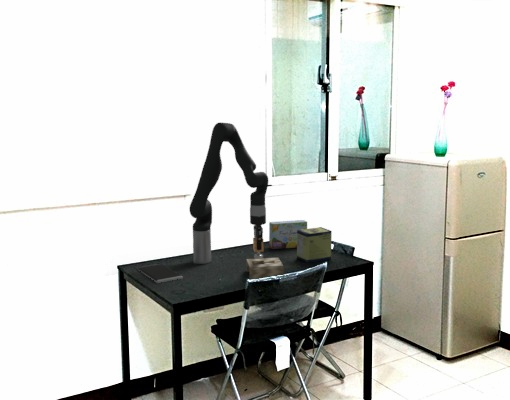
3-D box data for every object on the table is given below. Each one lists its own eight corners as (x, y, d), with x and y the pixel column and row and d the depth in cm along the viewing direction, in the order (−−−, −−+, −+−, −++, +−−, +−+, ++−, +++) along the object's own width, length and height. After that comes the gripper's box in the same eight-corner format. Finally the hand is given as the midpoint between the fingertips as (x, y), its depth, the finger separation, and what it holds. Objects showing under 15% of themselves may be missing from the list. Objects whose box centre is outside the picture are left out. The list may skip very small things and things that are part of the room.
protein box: (331, 259, 310) (332, 230, 308) (306, 263, 304) (306, 233, 301) (320, 254, 320) (321, 226, 317) (296, 258, 313) (296, 229, 310)
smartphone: (161, 266, 303) (161, 263, 303) (183, 279, 280) (183, 275, 280) (137, 270, 296) (136, 267, 296) (157, 284, 273) (157, 280, 273)
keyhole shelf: (250, 279, 277) (249, 267, 276) (246, 270, 291) (246, 259, 290) (283, 277, 280) (283, 265, 278) (278, 269, 293) (278, 257, 292)
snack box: (271, 249, 330) (271, 223, 328) (269, 247, 336) (268, 221, 333) (307, 246, 336) (307, 221, 333) (303, 244, 341) (304, 219, 339)
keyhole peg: (254, 258, 281) (254, 239, 279) (253, 256, 285) (253, 237, 284) (263, 258, 282) (263, 239, 280) (262, 256, 286) (262, 237, 284)
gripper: (248, 211, 286) (248, 245, 289) (252, 217, 272) (252, 252, 275) (263, 210, 287) (263, 244, 290) (268, 216, 273) (268, 252, 276)
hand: (258, 248), depth 283 cm, fingers closed on keyhole peg, 4 cm apart
